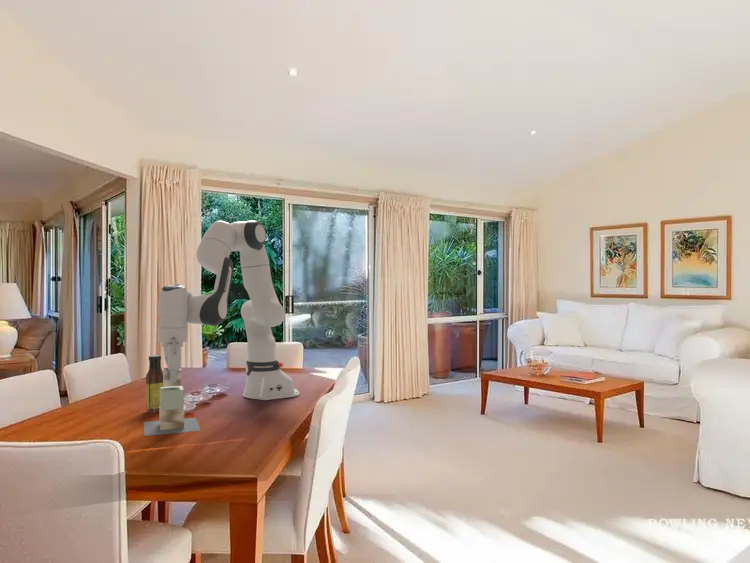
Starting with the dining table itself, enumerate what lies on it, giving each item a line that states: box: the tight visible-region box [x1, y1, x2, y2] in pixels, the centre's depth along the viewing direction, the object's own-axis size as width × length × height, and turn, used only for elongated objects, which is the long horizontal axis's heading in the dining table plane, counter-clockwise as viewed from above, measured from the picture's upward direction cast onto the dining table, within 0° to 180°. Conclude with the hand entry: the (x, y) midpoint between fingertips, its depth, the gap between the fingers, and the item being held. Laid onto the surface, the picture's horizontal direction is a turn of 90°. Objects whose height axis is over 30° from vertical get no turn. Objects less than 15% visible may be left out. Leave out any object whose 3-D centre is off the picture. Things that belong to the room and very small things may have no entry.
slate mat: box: [143, 417, 201, 437], centre depth 171 cm, size 16×16×1 cm
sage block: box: [160, 385, 185, 411], centre depth 171 cm, size 6×6×6 cm
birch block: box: [158, 406, 185, 430], centre depth 171 cm, size 7×7×6 cm
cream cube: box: [162, 367, 182, 387], centre depth 170 cm, size 5×5×5 cm
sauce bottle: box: [145, 354, 164, 414], centre depth 190 cm, size 7×6×20 cm
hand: (172, 379), depth 171 cm, fingers closed on cream cube, 5 cm apart
